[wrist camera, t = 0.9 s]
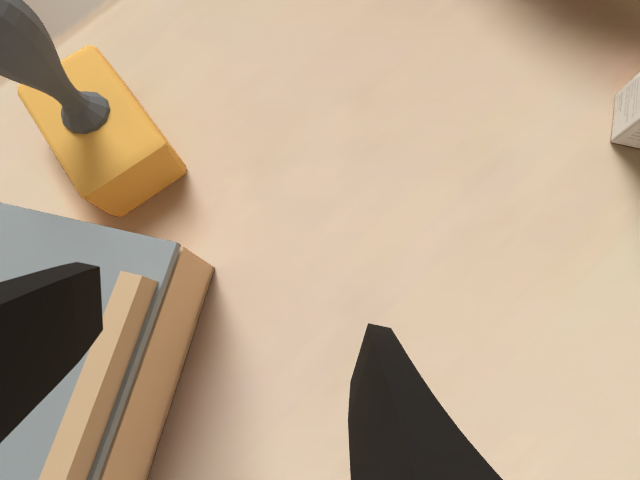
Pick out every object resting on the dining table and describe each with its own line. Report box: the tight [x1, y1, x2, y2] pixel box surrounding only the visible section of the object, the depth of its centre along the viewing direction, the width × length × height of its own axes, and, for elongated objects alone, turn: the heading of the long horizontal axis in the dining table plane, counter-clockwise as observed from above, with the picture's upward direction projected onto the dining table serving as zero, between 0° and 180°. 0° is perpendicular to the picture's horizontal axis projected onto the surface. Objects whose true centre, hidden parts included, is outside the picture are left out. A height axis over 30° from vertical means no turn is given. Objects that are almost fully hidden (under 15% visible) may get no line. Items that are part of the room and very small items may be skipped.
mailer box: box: [98, 246, 215, 480], centre depth 20 cm, size 14×17×5 cm
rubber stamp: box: [0, 0, 186, 217], centre depth 20 cm, size 10×6×12 cm, turn 38°
